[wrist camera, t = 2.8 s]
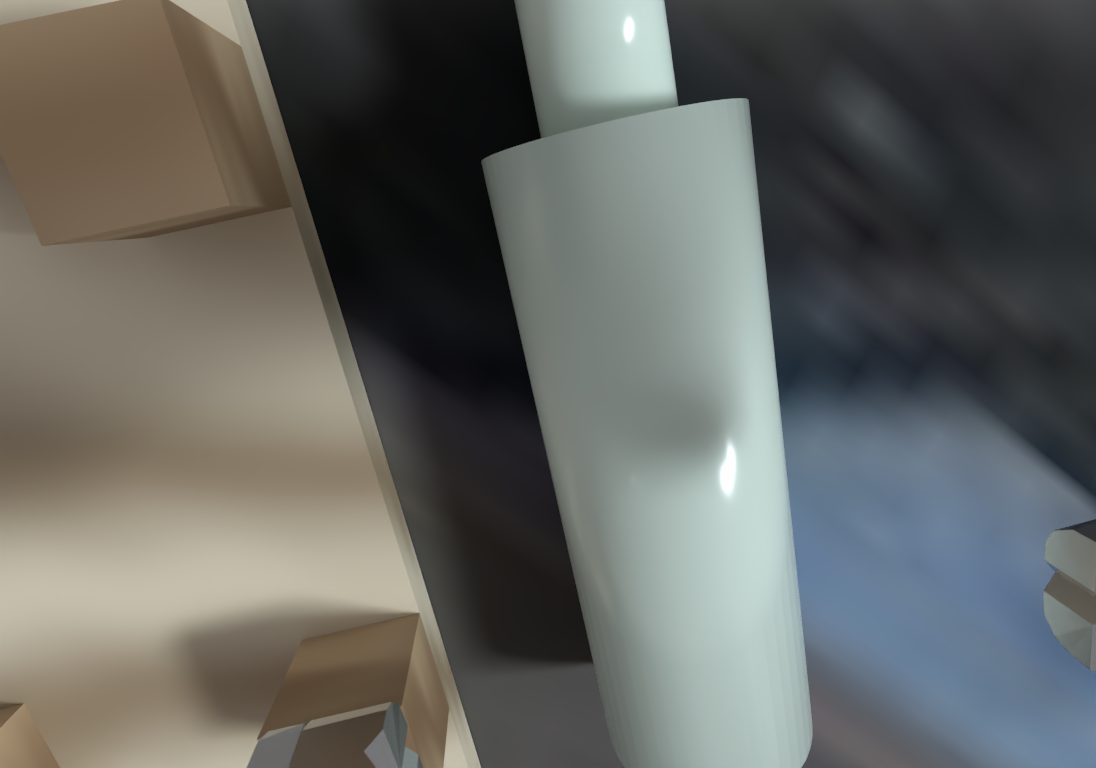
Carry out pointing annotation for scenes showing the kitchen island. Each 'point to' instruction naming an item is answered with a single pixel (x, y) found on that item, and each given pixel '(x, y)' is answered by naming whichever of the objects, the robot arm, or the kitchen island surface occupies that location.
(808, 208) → the kitchen island surface
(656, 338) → the ceramic bottle
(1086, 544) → the robot arm
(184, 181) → the board
